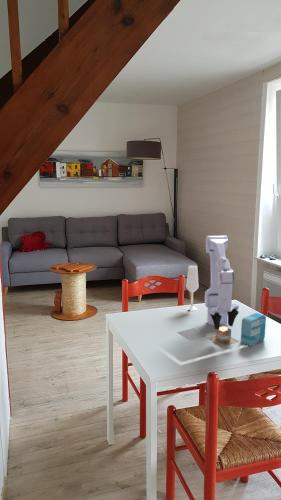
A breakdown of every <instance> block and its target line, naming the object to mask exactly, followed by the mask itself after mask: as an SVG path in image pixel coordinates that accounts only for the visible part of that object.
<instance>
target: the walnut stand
mask: <svg viewBox="0 0 281 500" xmlns="http://www.w3.org/2000/svg"><path fill="white" fill-rule="evenodd" d="M207 339H208V340H210V341H212V342H214V343H215V344H217V345H219V346H221V347H225V346H228V345H232V344H236V343H239V342H241V340H240V341H239V340H238V339H236V338H234V337H232V336H231V340H230V341H226V342H221V341H219V340H217V339H216V335H213V336H211V337H207Z"/></svg>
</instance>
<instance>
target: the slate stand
mask: <svg viewBox="0 0 281 500" xmlns="http://www.w3.org/2000/svg"><path fill="white" fill-rule="evenodd" d="M176 333H178V334H179V335H181V336H182V337H184V338H185V339H187V340H189V341H191V340H195V339H200V338H204V337H208V334H205V332H204V333H203V332H202V331H200V330H199V329H196V328H195V327H194V328H190V329H185V330H182V331H177V332H176Z"/></svg>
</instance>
